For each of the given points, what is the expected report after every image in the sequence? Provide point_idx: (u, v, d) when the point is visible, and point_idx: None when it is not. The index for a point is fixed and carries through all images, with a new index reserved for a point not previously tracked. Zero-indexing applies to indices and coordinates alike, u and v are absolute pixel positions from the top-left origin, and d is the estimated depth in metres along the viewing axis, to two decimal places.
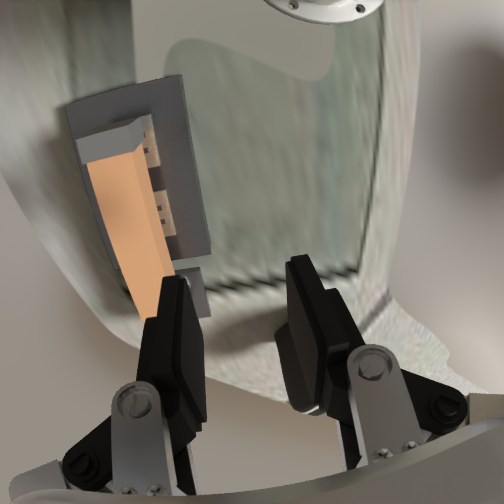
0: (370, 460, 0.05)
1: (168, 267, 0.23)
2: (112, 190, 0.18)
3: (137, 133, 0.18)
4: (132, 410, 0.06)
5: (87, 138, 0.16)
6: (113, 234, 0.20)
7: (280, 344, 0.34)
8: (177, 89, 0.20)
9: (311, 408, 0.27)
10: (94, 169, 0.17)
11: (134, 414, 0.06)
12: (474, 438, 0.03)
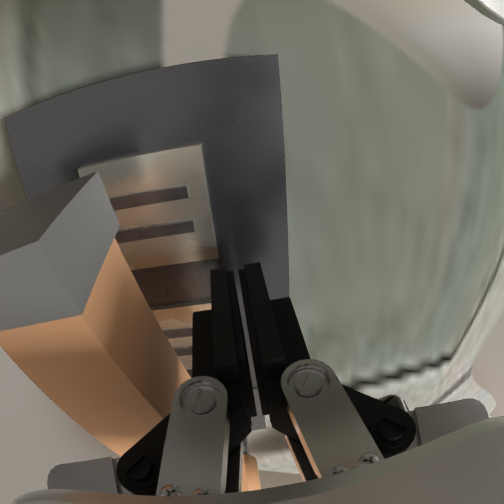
0: None
1: None
2: (67, 383, 0.06)
3: (90, 232, 0.06)
4: (195, 405, 0.06)
5: None
6: (101, 435, 0.08)
7: None
8: (270, 89, 0.08)
9: None
10: (9, 343, 0.06)
11: (196, 410, 0.06)
12: (474, 438, 0.03)
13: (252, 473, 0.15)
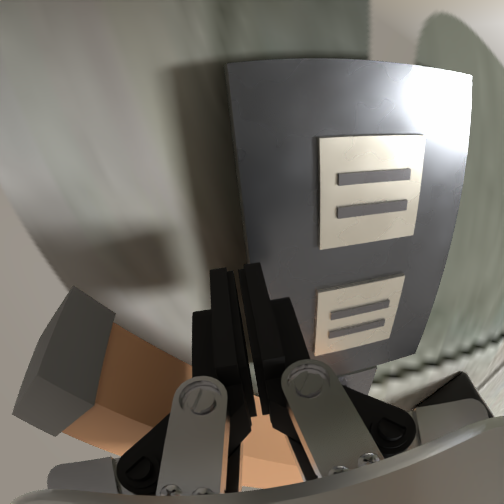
0: None
1: None
2: (131, 446, 0.08)
3: (82, 340, 0.07)
4: (194, 405, 0.06)
5: (20, 409, 0.06)
6: None
7: None
8: (466, 101, 0.09)
9: None
10: (76, 434, 0.08)
11: (196, 410, 0.06)
12: (474, 438, 0.03)
13: None
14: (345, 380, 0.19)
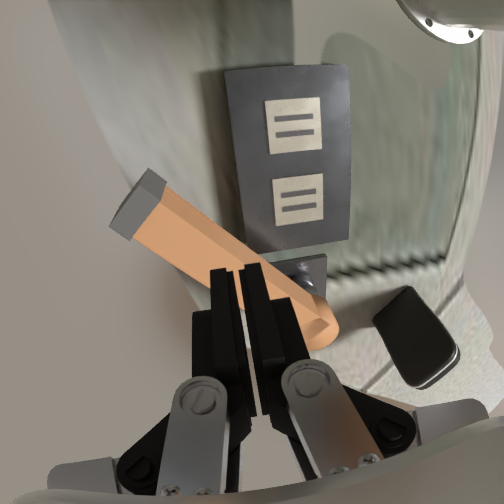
0: None
1: (266, 269, 0.24)
2: (170, 242, 0.20)
3: (154, 183, 0.19)
4: (194, 405, 0.06)
5: (116, 219, 0.18)
6: (197, 275, 0.21)
7: (382, 328, 0.35)
8: (345, 78, 0.20)
9: (425, 381, 0.27)
10: (142, 237, 0.19)
11: (196, 410, 0.06)
12: (474, 438, 0.03)
13: (321, 304, 0.27)
14: (305, 265, 0.30)
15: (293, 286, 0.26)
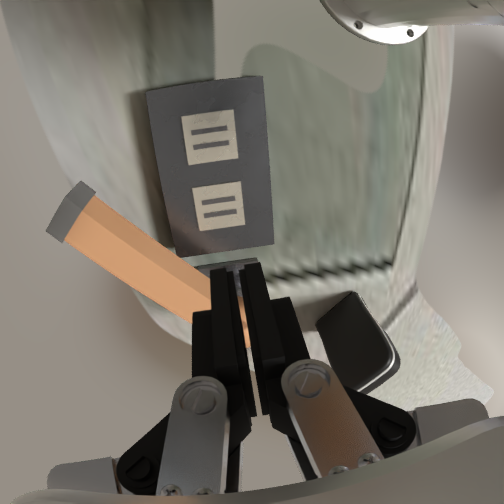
0: None
1: (183, 270, 0.25)
2: (93, 245, 0.21)
3: (82, 194, 0.21)
4: (194, 405, 0.06)
5: (51, 224, 0.20)
6: (119, 274, 0.23)
7: (323, 332, 0.37)
8: (260, 89, 0.22)
9: (360, 387, 0.29)
10: (71, 240, 0.21)
11: (196, 410, 0.06)
12: (474, 438, 0.03)
13: (243, 305, 0.28)
14: (236, 269, 0.32)
15: None
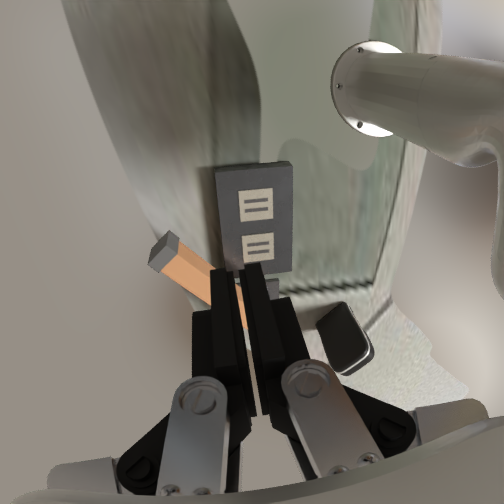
0: None
1: None
2: (181, 274, 0.36)
3: (173, 241, 0.35)
4: (194, 405, 0.06)
5: (152, 261, 0.34)
6: (195, 292, 0.37)
7: (321, 330, 0.51)
8: (290, 174, 0.37)
9: (345, 369, 0.44)
10: (165, 271, 0.35)
11: (196, 410, 0.06)
12: (474, 438, 0.03)
13: None
14: None
15: None
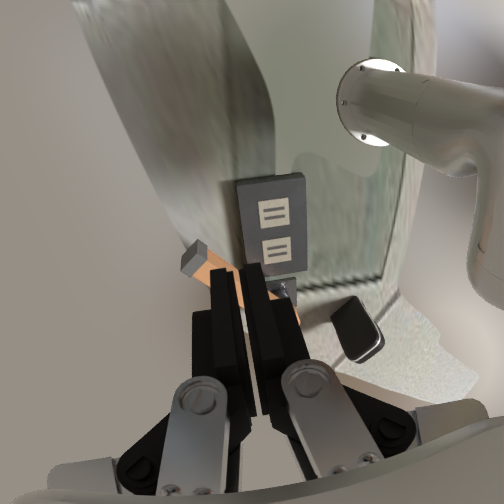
0: None
1: None
2: None
3: (202, 249, 0.40)
4: (194, 405, 0.06)
5: (185, 267, 0.39)
6: None
7: (335, 322, 0.56)
8: (303, 185, 0.41)
9: (359, 357, 0.48)
10: (196, 275, 0.40)
11: (196, 410, 0.06)
12: (474, 438, 0.03)
13: None
14: (282, 284, 0.52)
15: (273, 297, 0.47)
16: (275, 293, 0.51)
